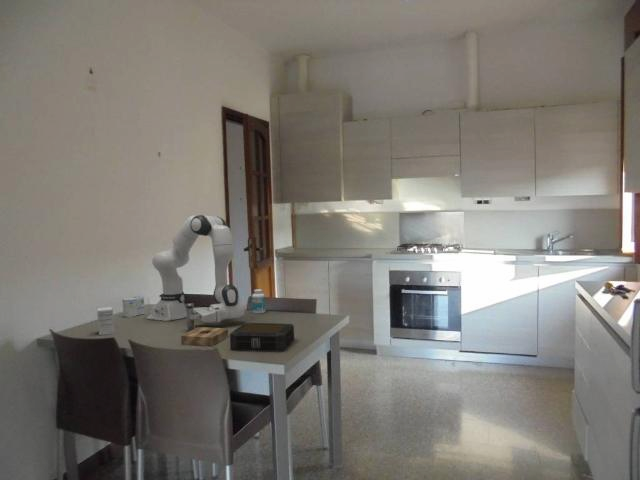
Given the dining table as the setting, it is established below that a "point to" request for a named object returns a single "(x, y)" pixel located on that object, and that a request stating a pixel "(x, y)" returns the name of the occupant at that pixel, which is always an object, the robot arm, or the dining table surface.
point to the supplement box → (105, 320)
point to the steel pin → (189, 312)
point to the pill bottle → (258, 301)
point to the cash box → (262, 337)
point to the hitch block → (204, 336)
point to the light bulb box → (133, 306)
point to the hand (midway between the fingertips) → (188, 316)
